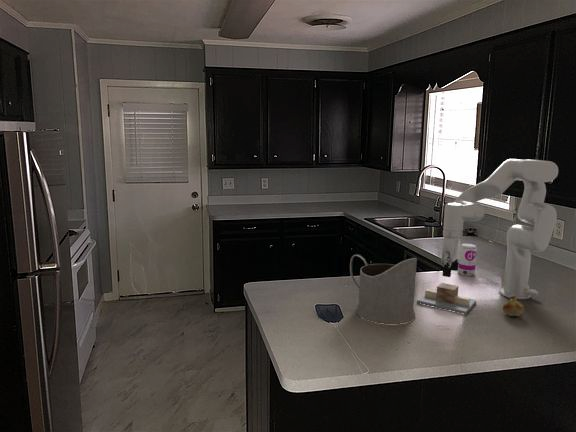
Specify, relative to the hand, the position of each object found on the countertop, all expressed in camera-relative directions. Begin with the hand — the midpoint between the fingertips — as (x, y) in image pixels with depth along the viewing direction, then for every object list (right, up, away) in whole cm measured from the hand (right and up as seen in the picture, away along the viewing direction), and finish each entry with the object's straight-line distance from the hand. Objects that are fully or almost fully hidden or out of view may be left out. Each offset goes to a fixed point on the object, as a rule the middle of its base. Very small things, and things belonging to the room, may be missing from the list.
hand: (450, 273), depth 197 cm
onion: (+21, -16, -9) cm, 28 cm away
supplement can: (+23, -6, +44) cm, 50 cm away
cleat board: (-1, -13, +2) cm, 13 cm away
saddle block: (-1, -11, +2) cm, 12 cm away
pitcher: (-32, -14, -6) cm, 35 cm away
